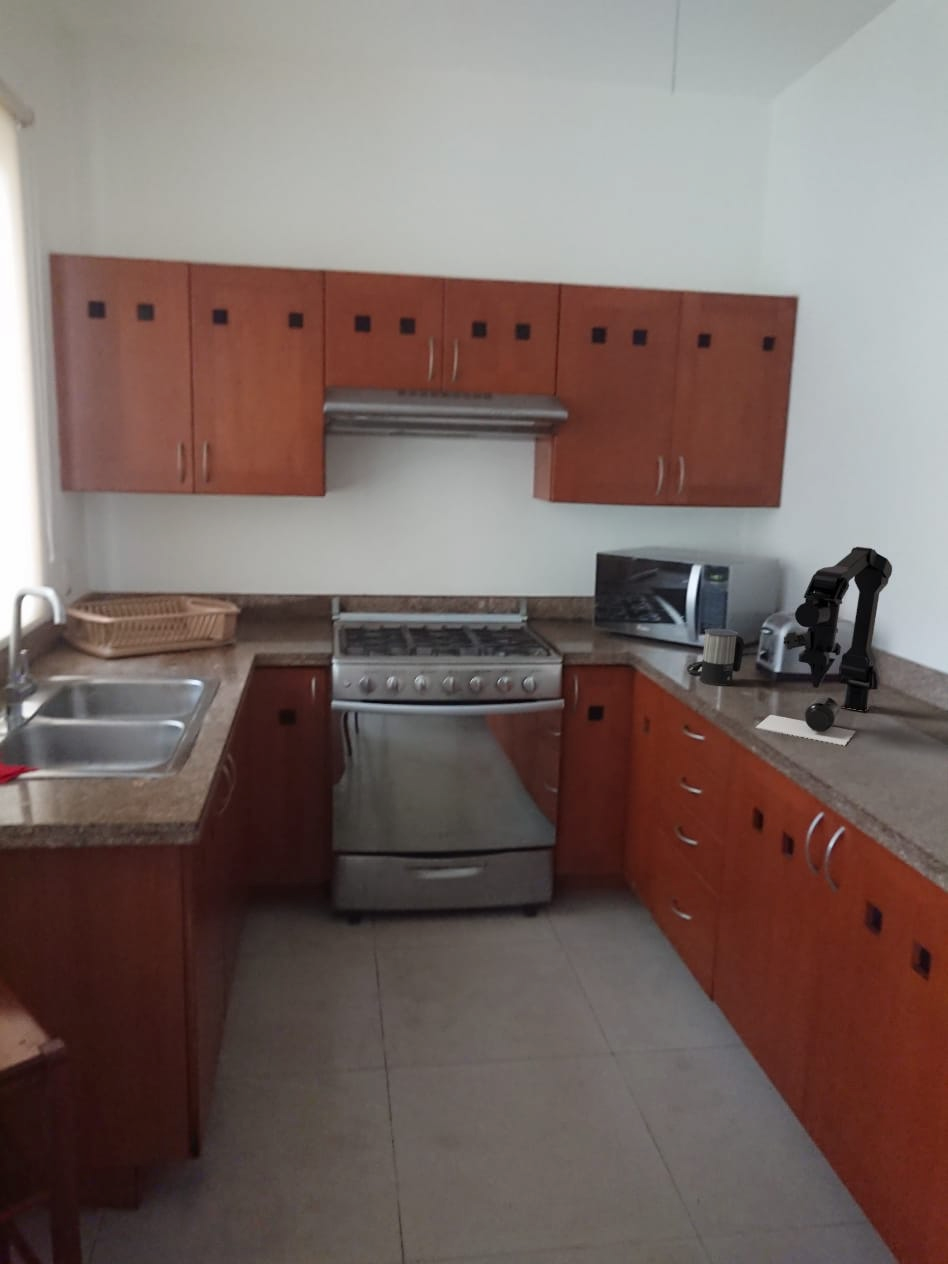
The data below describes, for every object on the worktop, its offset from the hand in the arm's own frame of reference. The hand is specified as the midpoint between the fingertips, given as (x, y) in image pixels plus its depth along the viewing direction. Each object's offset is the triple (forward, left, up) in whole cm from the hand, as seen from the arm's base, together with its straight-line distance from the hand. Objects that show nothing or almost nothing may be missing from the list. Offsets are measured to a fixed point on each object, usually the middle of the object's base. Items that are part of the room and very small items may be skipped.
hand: (815, 687), depth 221 cm
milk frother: (-30, -35, -10) cm, 47 cm away
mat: (+6, 0, -10) cm, 11 cm away
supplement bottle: (-3, +2, -6) cm, 7 cm away
